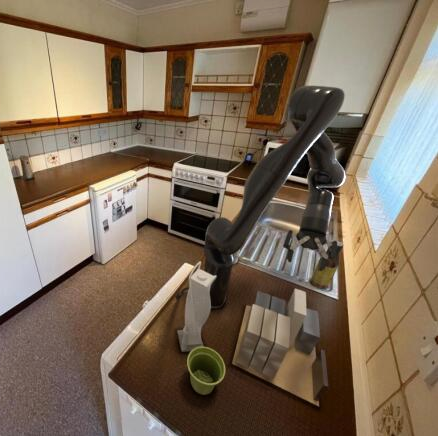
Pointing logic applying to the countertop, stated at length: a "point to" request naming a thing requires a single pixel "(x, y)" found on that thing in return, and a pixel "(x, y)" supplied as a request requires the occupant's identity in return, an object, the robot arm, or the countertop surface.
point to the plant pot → (205, 369)
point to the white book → (296, 313)
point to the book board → (282, 349)
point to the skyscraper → (196, 309)
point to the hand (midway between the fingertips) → (304, 266)
